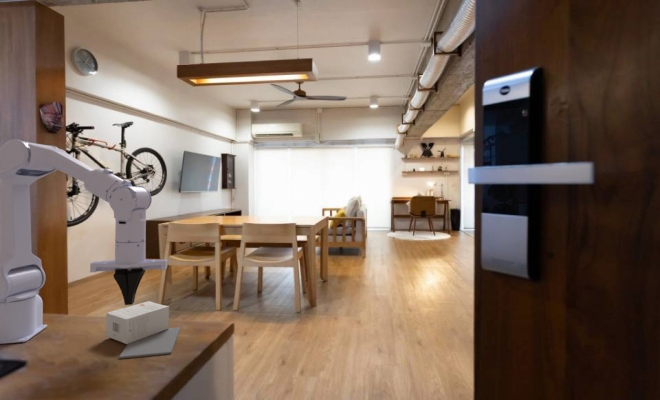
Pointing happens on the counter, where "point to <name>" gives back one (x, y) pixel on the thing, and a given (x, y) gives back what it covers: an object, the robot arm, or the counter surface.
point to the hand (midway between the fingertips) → (129, 303)
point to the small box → (137, 321)
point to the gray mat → (152, 344)
